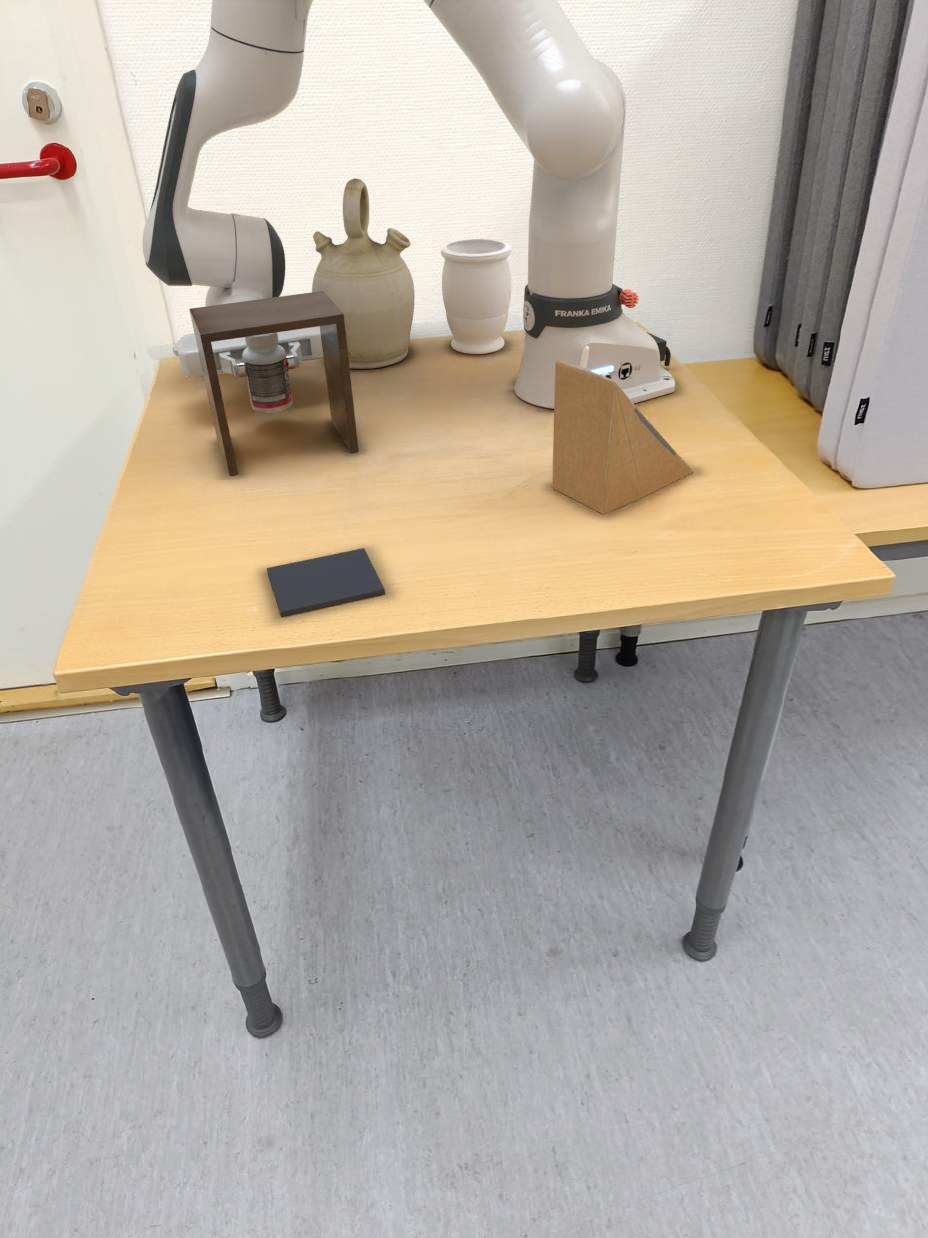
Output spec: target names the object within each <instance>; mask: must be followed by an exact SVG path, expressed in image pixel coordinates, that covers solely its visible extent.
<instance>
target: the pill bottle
mask: <svg viewBox="0 0 928 1238" xmlns="http://www.w3.org/2000/svg"><path fill="white" fill-rule="evenodd" d="M245 342H246V345H247V346H248V347H247V348H246V349H245V350H244V352H243V355H242V357H243V362H244V363H245V368H246V369H245V370H246V373H247V376H245V380H246V385H247V391H248V396H249V401H250V406H251V408H252V410H254V411H256V412H258V413H261V414H276V413H280V412H283V411H286V410H288V409H289V408H290V407H292V405H293V393H292V388H291V386H292V385H291V380H290V373H289V370H288V366H287V359H286V353H285V350H284V348H283V347H282V346H280V345H277V343H278V334H277V333H270V334H263V335H256V336H249V337H245Z"/></svg>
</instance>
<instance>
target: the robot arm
mask: <svg viewBox="0 0 928 1238" xmlns="http://www.w3.org/2000/svg"><path fill="white" fill-rule="evenodd" d="M423 2H424V3H425V4H426V6H427V7H428V8H429V9H430V11H431V13H433V15H434V16H435V18H436V19H437V20H438V21H439V23H440V24H441V26H443V29H444V30H445V31H446V32H447V33H448V35H450V37H451V38H452V39H453V41H454V42H455V44H456V45H457V46H458V47H459V49H460V50H461V51H462V52H463V54H464V55H465V56H466V58H467V59H468V60H469V62H470V63H471V64H472V66H473V67H474V69H475V70H476V71H477V73H478V75H479V76H480V77H481V79H482V80H483V82H484V83H485V86H486V87H487V89H488V91H489V92H490V93H491V95H492V97H493V99H494V100H495V102H496V104H497V105H498V107H499V108H500V110H501V111H502V113H503V115H504V116H505V118H506V120H507V121H508V122H509V124H510V125H511V127H512V128H513V130H514V131H515V133H516V134H517V136H518V137H519V139H520V140H521V142H522V143H523V145H524V146H525V148H526V149H527V150H528V152H529V153H530V155H531V157H532V158H533V169H532V181H531V182H532V183H531V194H530V195H531V196H530V206H529V207H530V208H529V216H528V237H527V238H528V245H527V249H528V250H527V283H526V285H525V286H524V290H523V291H524V293H523V305H522V306H523V308H522V320H523V321H522V322H523V329H524V340H523V341H524V342H523V348H522V355H521V359H520V365H519V370H518V375H517V377H516V381H515V384H514V387H513V391H514V393H515V395H516V396H517V397H518V398H520V399H521V400H523V401H524V402H527V403H529V404H531V405H534V406H538V407H542V408H546V409H553V410H554V399H555V364H556V362H557V361H558V360H559V361H563V362H566V363H569V364H572V365H575V366H579V367H582V368H585V369H588V370H590V371H593V372H595V373H597V374H600V375H602V376H605V377H607V378H609V379H612V380H614V381H615V382H616V383H617V384H618V386H619V387H620V388H621V389H622V390H623V392H624V393H625V394H626V395H627V396H628V398H629V399H630V400H631V401H632V402H633V404H634V405H635V404H637V403H640V402H644V401H648V400H652V399H654V398H658V397H661V396H664V395H669V394H672V393H674V392H675V391H676V381H675V378H674V377H673V375H672V374H671V373H670V372H669V371H667V370H666V368H664V367H669V366H670V365H671V357H672V353H671V350H670V348H669V347H668V346H667V344H668V343H667V342H668V341H667V340H665V339H663V338H661V337H659V336H657V335H655V334H652V333H650V332H648V331H647V330H645V329H644V328H642V327H641V326H640V325H639V324H637V323H636V322H635V321H634V320H633V319H632V318H630V317H629V316H628V315H627V314H625V313H624V312H623V307H622V305H623V306H625V307H626V308H628V309H633V308H635V307H636V306H637V304H638V303H639V295H638V293H637V292H635V291H632V290H631V289H627V288H626V289H623V288H621V287H619V285H616V284H614V283H613V281H614V266H615V253H616V239H617V228H618V227H617V225H618V214H619V203H620V202H619V200H620V187H621V177H622V165H623V163H622V162H623V151H624V139H625V129H626V127H625V126H626V115H627V114H626V113H627V101H626V93H625V90H624V87H623V84H622V82H621V80H620V78H619V77H618V75H617V74H616V72H615V71H614V70H613V69H612V68H611V67H610V66H609V65H607V64H606V63H604V62H603V61H600V60H598V59H595V57H594V56H593V54H592V53H591V51H590V50H589V48H588V47H587V46H586V44H585V42H584V41H583V40H582V38H581V37H580V35H579V34H578V31H577V30H576V29H575V27H574V26H573V24H572V23H571V21H570V19H569V18H568V16H567V15H566V13H565V12H564V11H565V10H563V8H562V7H561V5H560V3H559V1H558V0H423ZM313 3H314V0H212V1H211V11H210V28H209V37H208V42H207V46H206V48H205V51H204V54H203V55H202V58H201V59H200V61H199V63H198V64H197V65H196V67H195V68H194V69H191V70H189V71H186V72H184V73H183V74H182V76H181V78H180V79H179V81H178V84H177V87H176V90H175V93H174V97H173V101H172V105H171V109H170V113H169V118H168V123H167V127H166V133H165V137H164V142H163V149H162V153H161V158H160V163H159V169H158V173H157V179H156V183H155V188H154V193H153V198H152V202H151V206H150V210H149V213H148V216H147V219H146V222H145V225H144V228H143V233H142V254H143V258H144V262H145V266H146V267H147V268H148V269H149V270H150V272H151V273H153V275H155V277H156V278H158V279H159V280H160V281H161V282H163V283H164V284H165V285H167V286H168V287H193V286H200V287H202V286H203V287H209V288H208V290H207V291H206V296H205V300H204V301H205V302H204V303H205V306H204V307H206V306H214V305H221V304H228V303H236V302H243V301H251V300H258V299H266V298H273V297H281V296H282V293H283V290H284V285H285V279H286V255H285V249H284V245H283V242H282V239H281V237H280V235H279V234H278V232H277V231H276V229H275V227H274V226H273V225H272V224H271V222H270V221H269V220H268V219H266V217H258V216H252V215H245V214H239V213H226V212H225V213H224V212H219V211H218V212H217V211H211V210H202V209H196V208H192V207H190V206H188V205H189V201H190V198H191V197H190V196H191V192H192V187H193V182H194V179H195V178H194V177H195V173H196V169H197V164H198V159H199V156H200V153H201V152H202V151H201V150H202V149H203V147H204V146H205V144H206V143H207V142H208V141H210V140H211V139H213V138H214V137H216V136H219V135H220V134H223V133H225V132H228V131H231V130H235V129H239V128H242V127H243V128H244V127H249V126H252V125H257V124H261V123H264V122H266V121H268V120H271V119H273V118H274V117H277V116H278V115H279V114H280V113H282V112H283V111H285V110H286V109H287V108H288V107H289V106H290V104H291V103H292V102H293V100H294V99H295V98H296V96H297V94H298V90H299V86H300V82H301V77H302V74H303V73H302V72H303V65H304V57H305V47H306V37H307V36H306V35H307V28H308V19H309V15H310V10H311V7H312V4H313ZM277 334H278V343H277V345H280V346H282V347H283V348H284V350H285V353H286V359H287V366H288V371H289V370H296V369H300V363H301V362H307V361H312V360H321V359H324V357H323V349H322V342H321V334H320V326H318V327H311V328H304V329H297V330H290V331H284V332H277ZM211 344H212V349H213V354H214V359H215V363H216V368H217V373H218V375H222V374H229V375H233V376H234V378H235V379H238V378H243V377H246V376H247V373H246V370H245V369H246V368H245V363H244V362H243V357H242V355H243V352H244V350H245V349H246V348H247V347H248V346H247V345H246V342H245V337H242V338H235V339H228V340H221V341H215V342H211ZM172 352H173V353H174V355H175V356H176V357H178V359H179V364H180V368H181V372H182V375H183V376H184V377H186V378H190V379H197V378H202V377H203V378H204V376H203V371H202V366H201V362H200V357H199V352H198V348H197V343H196V338H195V334H194V332H192V333H188V334H185V335H182V336H181V337H180V338H179V339H178V342H177V343H174V344H173V345H172ZM661 362H664V367H663V366H661Z"/></svg>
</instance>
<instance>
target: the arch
mask: <svg viewBox="0 0 928 1238" xmlns="http://www.w3.org/2000/svg"><path fill="white" fill-rule="evenodd" d="M188 310H189V314H190V319H191V324H192V328H193V333H194V334H195V338H196V343H197V348H198V352H199V357H200V362H201V366H202V371H203V379H204V380H203V381H204V385H205V389H206V393H207V399H208V403H209V408H210V412H211V418H212V422H213V427H214V432H215V435H216V441H217V444H218V448H219V449H220V450H219V451H220V453H221V456H222V458H223V461H224V464H225V467H226V471H227V472H228V475H229V476H230V477H231V476H237V475H239V472H238V466H237V461H236V457H235V452H234V446H233V443H232V438H231V432H230V428H229V423H228V418H227V413H226V408H225V403H224V398H223V393H222V388H221V383H220V379H219V374H218V373H217V368H216V363H215V359H214V354H213V349H212V344H211V342H215V341H221V340H228V339H235V338H242V337H249V336H256V335H263V334H270V333H277V332H284V331H290V330H297V329H304V328H311V327H318V326H320V334H321V342H322V349H323V357H324V358H323V364H324V365H323V366H324V372H325V380H326V388H327V397H328V403H329V412H330V420H331V424H332V425H333V427H334V429H335V430H336V432H337V433H338V435H339V436H340V438H341V440H342V441H343V443H344V444H345V446H346V447H347V449H348V451H349V452H350V454H353V453H359V450H360V449H359V442H358V431H357V423H356V412H355V404H354V396H353V394H354V393H353V387H352V386H353V385H352V378H351V377H352V376H351V368H350V367H349V357H348V348H347V339H346V330H345V323H344V322H345V321H344V314H343V313H342V312H341V311H340V309H339V308H338V307H337V306H336V305H335V304H334V303H333V302H332V300H331V299H330V298H329V297H328V296H327V295H326V294H325V293H324V291H318V292H312V291H311V292H303V293H297V294H290V295H289V294H288V295H280V296H279V297H273V298H266V299H258V300H251V301H243V302H236V303H228V304H221V305H214V306H206V307H205V306H198V307H192V308H189V309H188Z"/></svg>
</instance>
